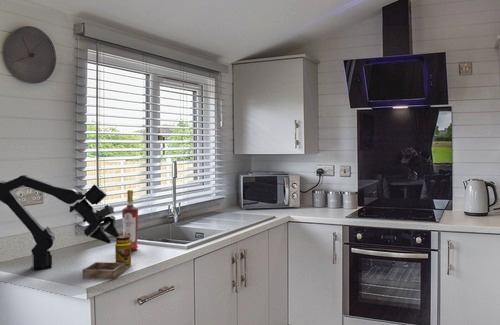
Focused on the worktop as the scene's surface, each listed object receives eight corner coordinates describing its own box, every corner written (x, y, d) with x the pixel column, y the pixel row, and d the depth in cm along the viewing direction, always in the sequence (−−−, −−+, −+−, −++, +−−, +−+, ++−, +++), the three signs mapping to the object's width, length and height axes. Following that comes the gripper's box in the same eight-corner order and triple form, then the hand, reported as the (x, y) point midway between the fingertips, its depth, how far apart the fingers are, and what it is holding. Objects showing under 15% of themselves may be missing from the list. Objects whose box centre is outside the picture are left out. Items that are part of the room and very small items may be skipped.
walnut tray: (82, 277, 165) (82, 269, 165) (96, 269, 176) (95, 262, 176) (114, 278, 164) (114, 270, 164) (125, 270, 175) (125, 262, 175)
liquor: (120, 251, 205) (119, 190, 204) (124, 248, 213) (124, 189, 212) (136, 251, 205) (135, 190, 204) (140, 248, 213) (139, 189, 212)
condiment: (125, 269, 177) (125, 238, 177) (107, 267, 180) (106, 237, 179) (135, 264, 184) (135, 235, 184) (118, 262, 187) (117, 234, 186)
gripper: (90, 202, 173) (119, 230, 172) (110, 196, 191) (136, 222, 190) (71, 222, 174) (99, 250, 173) (93, 214, 192) (118, 240, 192)
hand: (114, 240), depth 182 cm, fingers open, 9 cm apart
